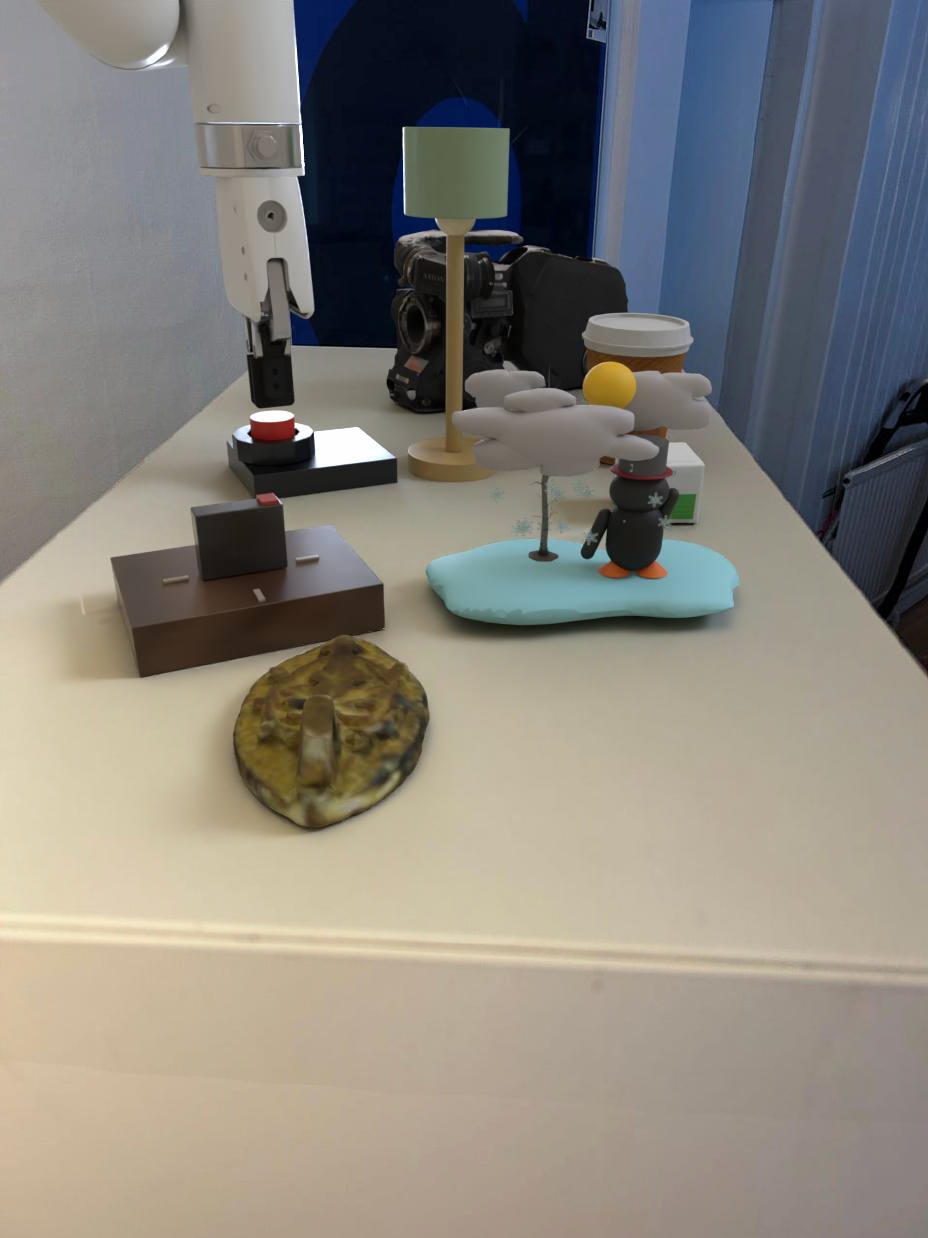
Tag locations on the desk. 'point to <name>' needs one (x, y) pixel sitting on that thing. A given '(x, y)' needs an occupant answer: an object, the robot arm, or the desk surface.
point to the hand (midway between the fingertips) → (273, 404)
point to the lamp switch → (272, 425)
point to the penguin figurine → (572, 445)
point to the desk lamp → (453, 257)
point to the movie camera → (495, 313)
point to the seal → (330, 731)
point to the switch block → (310, 462)
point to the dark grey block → (239, 537)
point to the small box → (684, 481)
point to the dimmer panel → (244, 602)
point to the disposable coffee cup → (638, 347)
